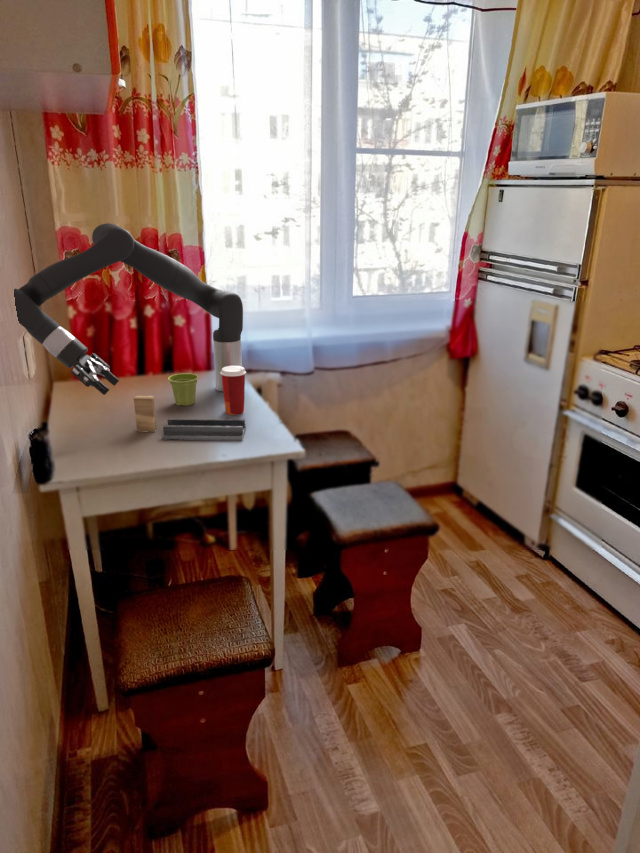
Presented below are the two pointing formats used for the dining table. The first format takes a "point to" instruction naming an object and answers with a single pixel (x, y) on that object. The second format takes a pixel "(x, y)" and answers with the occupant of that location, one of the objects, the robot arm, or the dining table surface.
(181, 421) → the door track
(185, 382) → the plant pot
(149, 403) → the wooden block
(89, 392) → the dining table surface
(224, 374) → the paper cup
